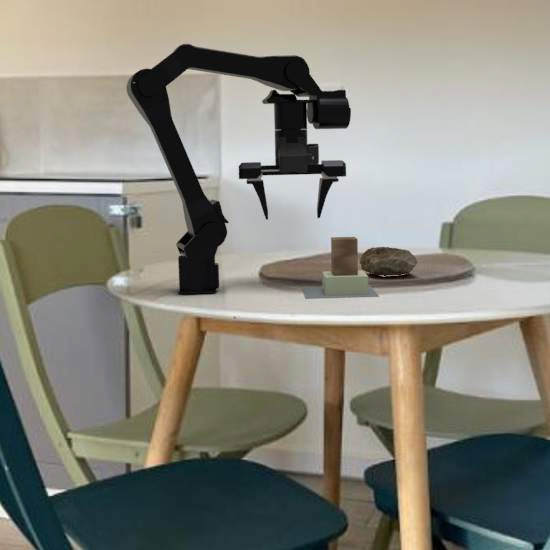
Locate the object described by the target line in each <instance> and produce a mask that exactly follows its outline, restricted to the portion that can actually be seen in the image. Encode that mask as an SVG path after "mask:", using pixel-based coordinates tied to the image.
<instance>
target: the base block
mask: <svg viewBox="0 0 550 550" xmlns="http://www.w3.org/2000/svg"><path fill="white" fill-rule="evenodd" d="M321 283H322V285H321V287H322V289H323V291H324V293H325V295H361V294H368V285H369V275H367V273H366V271H365V270H358V275H350V276H333V274H332V270H331V271H330V270H329V271H321Z"/></svg>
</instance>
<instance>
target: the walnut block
mask: <svg viewBox="0 0 550 550" xmlns="http://www.w3.org/2000/svg"><path fill="white" fill-rule="evenodd" d="M358 241H359V240H358V238H357V237H355V236H339V237H337V236H334V237H333V236H332V237H330V246H331V247H330V248H331V250H330V253H331V254H330V255H331V261H330V262H331V271H332V274H333V276H350V275H358V271H359V267H358V266H359V264H358V263H359V262H358V261H359V259H358V258H359V253H358V251H359V250H358V249H359V247H358Z"/></svg>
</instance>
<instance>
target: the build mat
mask: <svg viewBox="0 0 550 550" xmlns="http://www.w3.org/2000/svg"><path fill="white" fill-rule="evenodd" d="M300 288H301V291H302V293H303V297H304V298H305V300H311V299H312V300H313V299H345V298H348V299H349V298H353V299H354V298H379V297H380V295H379V294H378V293H377V292H376V291H375V290H374V289H373V287H372V286H371V285H370V284H368V294H361V295H325V293H324V291H323V289H322V286H305V287H304V286H303V287H302V286H301V287H300Z"/></svg>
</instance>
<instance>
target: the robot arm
mask: <svg viewBox="0 0 550 550" xmlns="http://www.w3.org/2000/svg"><path fill="white" fill-rule="evenodd" d="M187 70H190V71H191V70H192V71H197V72H205V73H210V74H218V75H224V76H228V77H229V76H231V77H235V78H236V77H237V78H243V79H248V80H252V81H255V82H258V83H259V84H262V85H265V86H266V87H269V88H272V90H270V91H269V93H268V95H267V96H266V97H265V98H263V99H262V101H261V102H262V105H263V104H264V105H273V107H274V108H273V115H274V117H273V118H274V120H273V121H274V157H275V160H274V161H275V165H274V164H273V165H270V164H269V165H266V164H265V165H262V162H261V161H259V162H257V161H255V162H254V161H253V162H249V161H247V162H241V163H239V165H238V179H239V180H246V184H247V185H252V186H253V189H254V191H255V193H256V196H258V197H257V198H258V199H259V201H260V206H261V209H262V212H263V216H264V218H265V220H269V211H268V205H267V204H268V203H267V196H266V193H265V192H266V191H265V184H264V180H263V179H262V178H263V176H286V175H287V176H292V175H294V176H296V175H321V177H320V178H319V182H318V183H319V184H318V194H317V203H316V205H317V206H316V213H317V214H316V217H317V219H320V218H321V215H322V213H323V210H324V206H325V202H326V199H327V196H328V194H329V191H330V189H331V188H332V185H333V183H337V182H339V178H338V177H347V164H346V162H345V161H344V160H340V159H337V160H336V159H332V160H330V159H329V160H321V163H320V164H319V162H320V152H319V151H320V150H319V143H308V124H311V125H312V126H313V128H314V129H315V130H339V129H340V130H342V129H343V130H344V129H348V128H349V125H350V122H351V118H352V117H351V116H352V115H351V113H352V109H351V107H350V103H349V100H348V97H347V91H346V90H345V89H337V90H322V89H321V87H320V85H318V83H317V82H316V81H315V79H314V78H313V76H312V75H311V74H310V67H309V65H308V62H307V61H306V60H305V59H304V58H303V57H301V56H299V55H292V54H291V55H289V54H288V55H268V56H256V55H249V54H244V53H243V54H242V53H238V52H231V51H226V50H225V51H224V50H219V49H214V48H206V47H201V46H194V45H193V44H190V43H183V44H180V45H179V46H177V47H176V48H175V49H174V50H173V52H171V53H170V54H169V55H168V56H166V57H165V58H164V59H161V60H160V62H158V63H157V64H156V65H154V66H153V67H152V68H143V69H139V70H138V71H137V72H135V73H134V74H132V75H131V76H130V78H129V79H128V80H127V83H126V92H127V93H126V94H127V96H128V98H129V100H131V102H132V104H133V105H134V106H135V108H136V109H137V111H138V113H139V114H140V115H141V117H142V118H143V120H144V121H145V123H147V125H148V126H149V128H150V131H151V133H152V135H153V137H154V139H155V142H156V144H157V146H158V148H159V151H160V153H161V156H162V157H163V160H164V163H165V164H166V168H167V169H168V172H169V174H170V177H171V179H172V181H173V184H174V186H175V187H176V190H177V193H178V195H179V198H180V199H181V203H182V210H183V214H184V215H183V216H184V221H185V225H186V229H187V231H186V232H184V234H183V236H181V237H180V238H179V240H178V241H177V242H176V244H175V245H176V247H177V250H178V253H179V256H178V258H177V259H178V261H177V263H178V284H179V285H178V287H179V289H178V291H177V293H178V294H179V295H182V294H183V295H185V294H186V295H187V294H189V295H190V294H214V293H215V294H216V293H217V289H219V288H220V270H219V269H220V265H219V263H218V262H216V254H217V251H218V248H219V247H220V246H221V245H223V243H224V242H225V241H226V238H227V235H228V230H227V225H226V224H229V220H227V218H226V217H225V215H224V213H223V210H222V205H221V202H220V201H219V200H216V199H211V200H209V198H208V197H207V196H206V194H205V193H204V191H203V188H202V186H201V183H200V182H199V181H200V180H199V179H198V176H197V174H196V172H195V169H194V167H193V164H192V162H191V159H190V158H189V156H188V153H187V151H186V148H185V146H184V144H183V141H182V139H181V136H180V134H179V132H178V130H177V127H176V125H175V122H174V121H173V117H172V111H171V104H170V97H169V94H168V90H167V87H168V86H169V84H170V83H172V82H174V81H175V80H176V79H177V78H179V77H180V76H181V75H182V74H183V73H184V72H186V71H187ZM277 90H278V91H281V92H290V93H279V92H278V91H277ZM297 98H308V99H297Z"/></svg>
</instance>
